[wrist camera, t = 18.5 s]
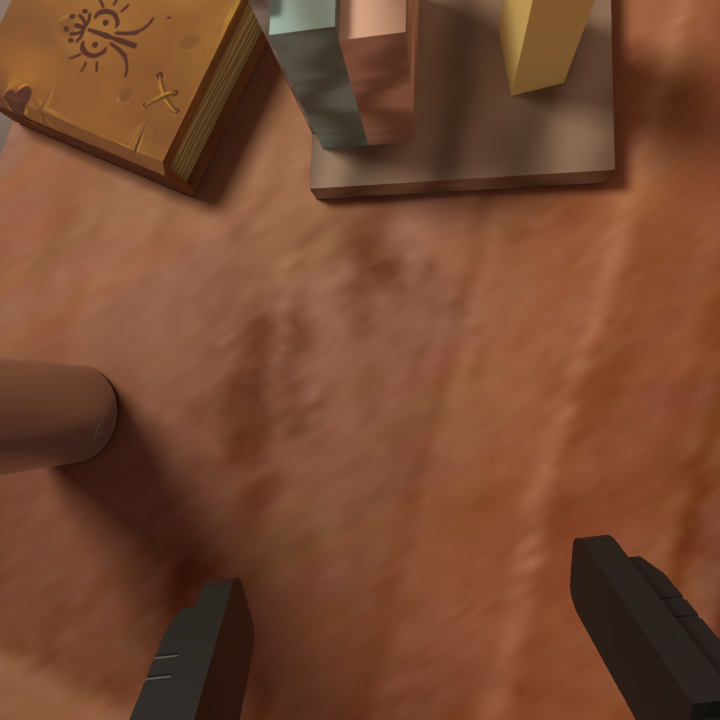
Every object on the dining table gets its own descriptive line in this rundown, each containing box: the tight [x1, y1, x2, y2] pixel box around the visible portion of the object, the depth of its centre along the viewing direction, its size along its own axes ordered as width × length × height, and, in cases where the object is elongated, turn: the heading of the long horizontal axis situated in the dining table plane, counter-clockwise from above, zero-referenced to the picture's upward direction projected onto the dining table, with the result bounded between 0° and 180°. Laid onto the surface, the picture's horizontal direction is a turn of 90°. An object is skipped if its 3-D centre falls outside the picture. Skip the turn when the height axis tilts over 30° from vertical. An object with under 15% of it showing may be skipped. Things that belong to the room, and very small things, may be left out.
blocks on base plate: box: [248, 0, 615, 199], centre depth 31 cm, size 24×20×15 cm
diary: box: [0, 0, 268, 196], centre depth 42 cm, size 23×19×6 cm
